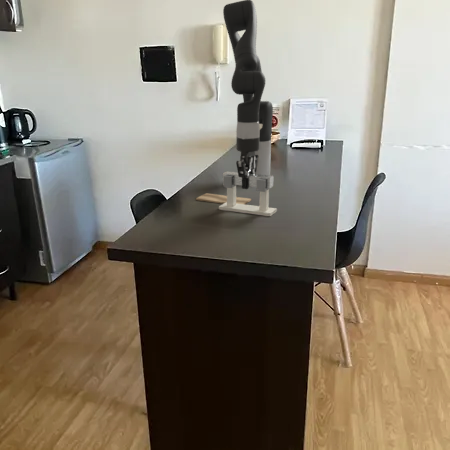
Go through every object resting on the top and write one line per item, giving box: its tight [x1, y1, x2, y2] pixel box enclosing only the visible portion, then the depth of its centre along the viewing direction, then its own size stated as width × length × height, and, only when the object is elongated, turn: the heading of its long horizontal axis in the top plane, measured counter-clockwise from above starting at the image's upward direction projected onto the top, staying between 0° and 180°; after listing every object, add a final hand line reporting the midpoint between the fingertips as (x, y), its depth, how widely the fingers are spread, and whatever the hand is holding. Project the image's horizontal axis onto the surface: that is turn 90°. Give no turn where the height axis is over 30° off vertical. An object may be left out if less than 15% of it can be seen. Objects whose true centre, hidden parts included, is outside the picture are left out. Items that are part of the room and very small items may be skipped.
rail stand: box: [218, 175, 278, 217], centre depth 153 cm, size 7×19×12 cm, turn 64°
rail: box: [222, 170, 275, 190], centre depth 152 cm, size 4×17×4 cm, turn 64°
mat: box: [195, 192, 252, 205], centre depth 167 cm, size 8×19×1 cm, turn 64°
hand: (247, 187), depth 152 cm, fingers closed on rail, 3 cm apart
